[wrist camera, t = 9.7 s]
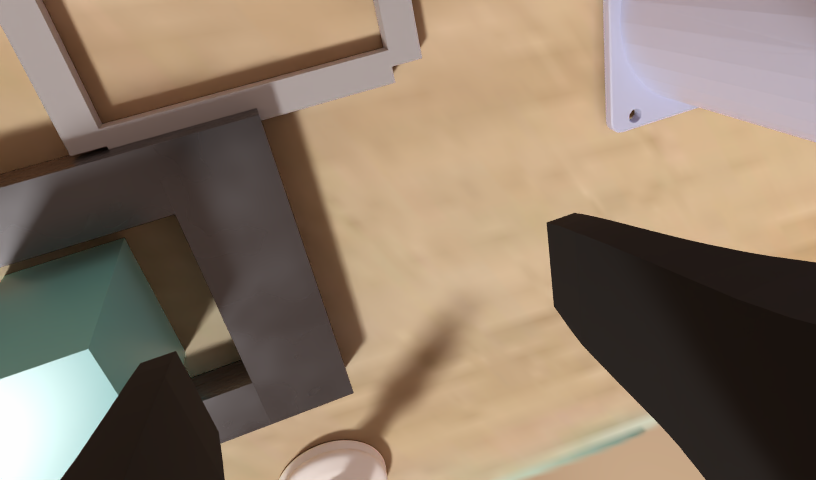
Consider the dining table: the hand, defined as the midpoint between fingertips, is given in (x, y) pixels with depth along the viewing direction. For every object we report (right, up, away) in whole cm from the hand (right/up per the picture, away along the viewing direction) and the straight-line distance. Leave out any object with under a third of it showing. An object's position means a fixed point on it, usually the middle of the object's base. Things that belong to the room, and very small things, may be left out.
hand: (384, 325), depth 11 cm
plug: (-10, -1, +8) cm, 13 cm away
